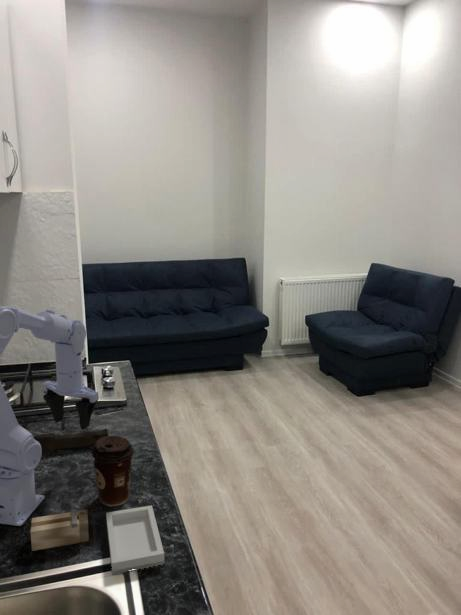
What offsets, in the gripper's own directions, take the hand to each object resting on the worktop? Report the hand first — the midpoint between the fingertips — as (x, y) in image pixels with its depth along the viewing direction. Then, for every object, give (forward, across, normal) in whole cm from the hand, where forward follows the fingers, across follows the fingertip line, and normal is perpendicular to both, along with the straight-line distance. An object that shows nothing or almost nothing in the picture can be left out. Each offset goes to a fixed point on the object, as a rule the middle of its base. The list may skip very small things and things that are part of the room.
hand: (71, 424), depth 119 cm
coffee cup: (+10, -17, +8) cm, 22 cm away
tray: (+10, -29, +18) cm, 35 cm away
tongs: (+10, -16, +23) cm, 29 cm away
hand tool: (+10, +4, -4) cm, 12 cm away
